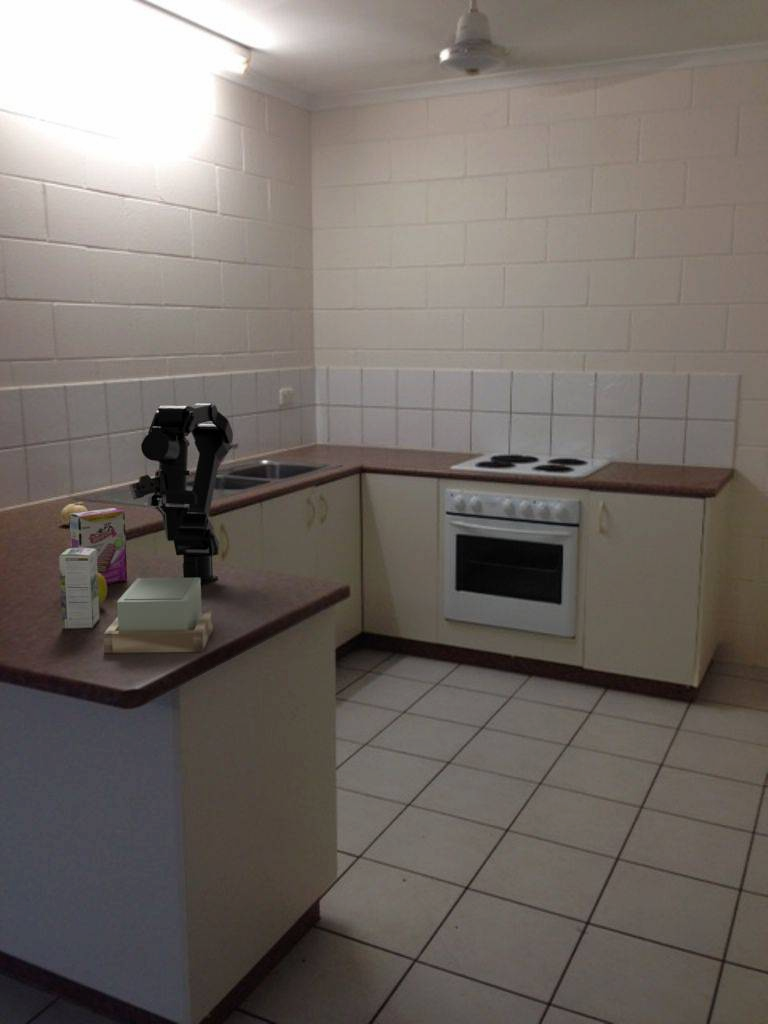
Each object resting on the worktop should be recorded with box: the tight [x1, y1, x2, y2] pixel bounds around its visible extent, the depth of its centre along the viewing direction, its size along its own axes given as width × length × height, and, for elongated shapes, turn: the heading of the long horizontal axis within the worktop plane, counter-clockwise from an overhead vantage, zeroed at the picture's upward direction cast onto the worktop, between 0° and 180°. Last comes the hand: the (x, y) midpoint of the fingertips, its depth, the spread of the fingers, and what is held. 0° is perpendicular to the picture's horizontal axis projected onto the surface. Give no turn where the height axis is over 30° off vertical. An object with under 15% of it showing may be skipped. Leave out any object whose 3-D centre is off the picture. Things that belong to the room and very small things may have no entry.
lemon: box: [98, 573, 108, 605], centre depth 187 cm, size 6×6×8 cm
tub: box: [116, 577, 203, 631], centre depth 170 cm, size 16×12×9 cm
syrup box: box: [58, 547, 100, 630], centre depth 175 cm, size 6×6×14 cm
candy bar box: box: [69, 507, 128, 585], centre depth 205 cm, size 11×5×16 cm, turn 134°
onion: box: [59, 500, 89, 527], centre depth 270 cm, size 8×8×7 cm
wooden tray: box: [102, 611, 214, 654], centre depth 167 cm, size 12×17×4 cm
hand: (170, 540), depth 190 cm, fingers closed
